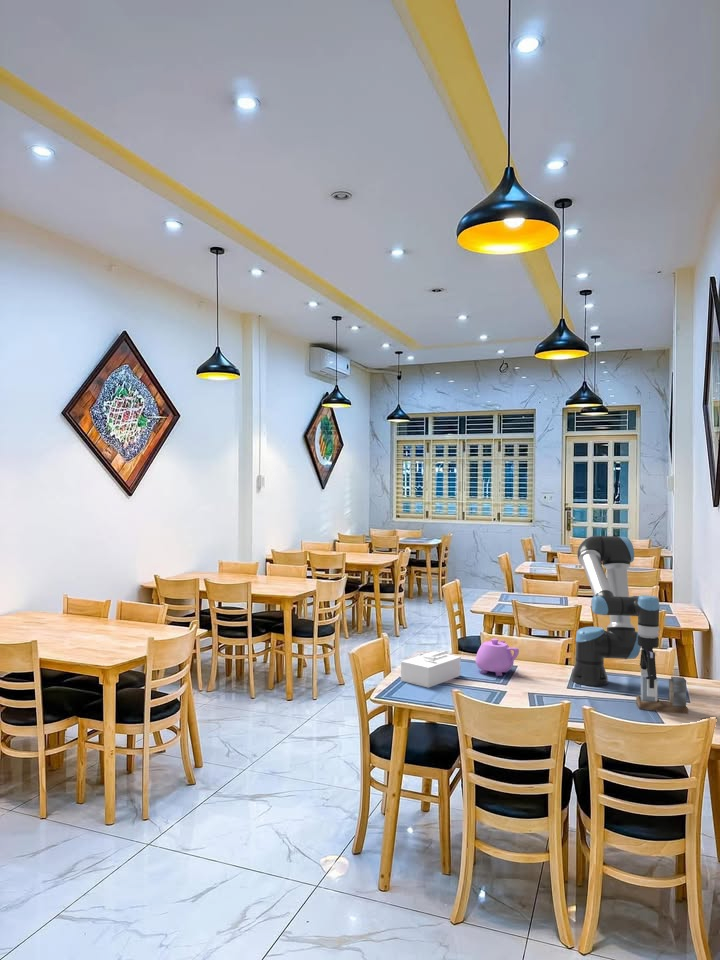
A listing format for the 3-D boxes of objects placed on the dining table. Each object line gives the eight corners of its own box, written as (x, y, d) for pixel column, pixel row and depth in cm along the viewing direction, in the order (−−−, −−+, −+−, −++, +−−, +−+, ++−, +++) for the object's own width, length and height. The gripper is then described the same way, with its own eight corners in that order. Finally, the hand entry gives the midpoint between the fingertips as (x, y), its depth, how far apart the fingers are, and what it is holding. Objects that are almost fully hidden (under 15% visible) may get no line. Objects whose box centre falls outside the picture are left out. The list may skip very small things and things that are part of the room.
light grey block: (642, 703, 250) (642, 677, 250) (640, 699, 254) (640, 674, 255) (657, 704, 249) (657, 678, 249) (654, 700, 253) (655, 675, 253)
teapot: (527, 670, 302) (527, 637, 302) (512, 680, 285) (513, 646, 285) (486, 663, 312) (487, 632, 313) (470, 672, 295) (471, 639, 296)
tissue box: (400, 681, 281) (401, 656, 281) (433, 670, 300) (434, 646, 300) (428, 688, 272) (428, 662, 272) (460, 676, 291) (460, 651, 291)
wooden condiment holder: (639, 709, 249) (639, 677, 249) (636, 703, 256) (636, 672, 256) (687, 713, 245) (688, 681, 245) (683, 707, 252) (683, 676, 252)
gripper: (665, 643, 239) (665, 701, 239) (652, 630, 263) (651, 682, 263) (643, 642, 241) (643, 699, 241) (632, 629, 265) (632, 681, 265)
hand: (647, 691), depth 252 cm, fingers open, 13 cm apart
